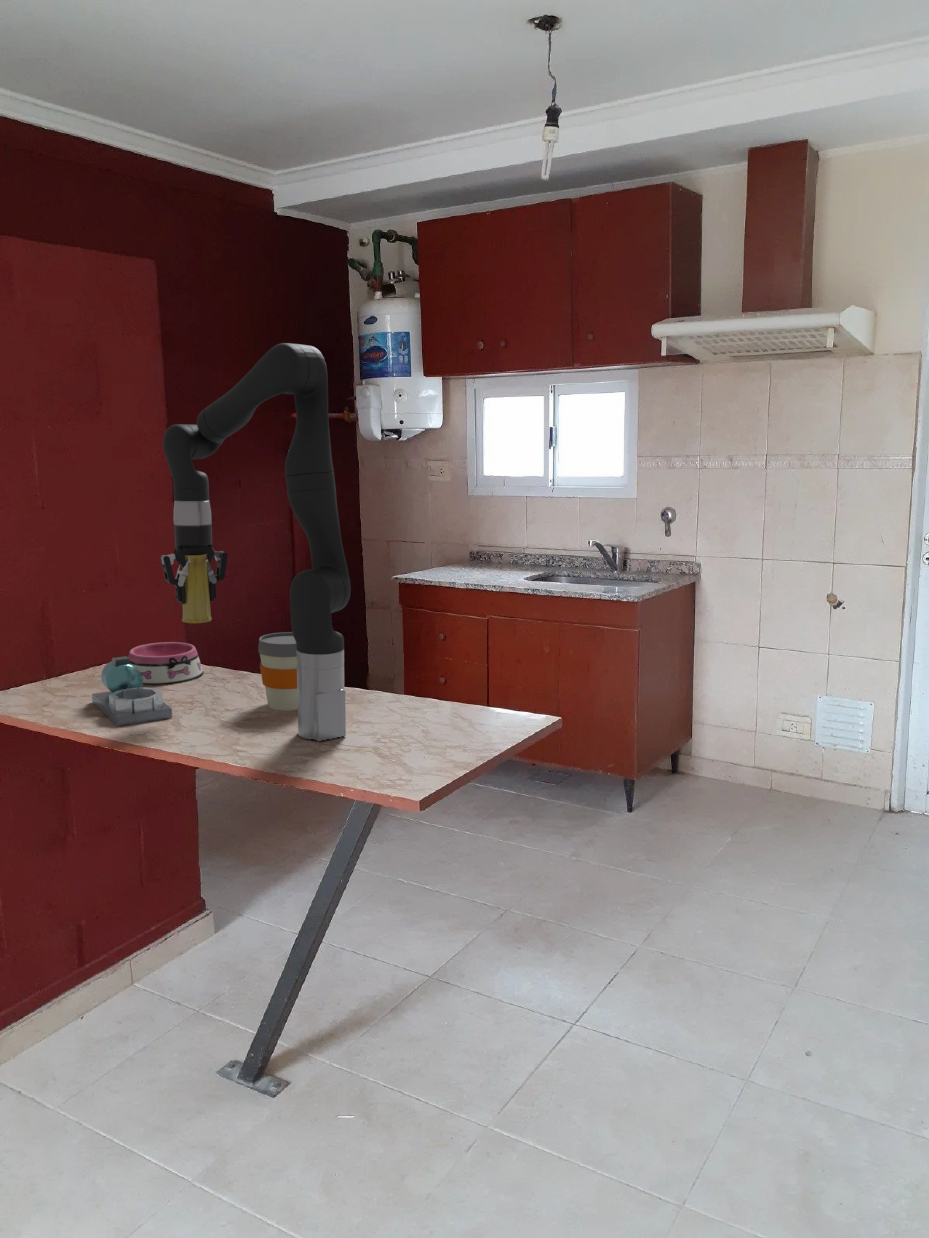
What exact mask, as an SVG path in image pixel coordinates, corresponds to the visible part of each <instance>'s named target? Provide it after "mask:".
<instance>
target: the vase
mask: <svg viewBox="0 0 929 1238" xmlns="http://www.w3.org/2000/svg"><path fill="white" fill-rule="evenodd" d="M205 555H206V557H207V554H204V555H185V560H186V561H187V560H188V558H189V556H190V559H191V562H190V563H188V576H187V577H186V579H185V582H184V584H183V586H184V588H185V604H182V618H181V621H182V623H186V624H202V623H208V622H211V621H212V619H213V618H212V615H211V614H212V613H211V601H210V595H209V581H208V575H207V561H206V562H205ZM181 569H182V570H183V567H182V568H181Z"/></svg>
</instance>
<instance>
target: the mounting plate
mask: <svg viewBox="0 0 929 1238" xmlns="http://www.w3.org/2000/svg"><path fill="white" fill-rule="evenodd" d="M100 679H101V682H102V685H103V686H104V687H105V688H106V689H107V690H109V691H101V692H95V693H91V701H92V704H93V705H94V706H96V707H97V708H98V709H99V710H100V711H101V712H102V713H103V714H104V715H105V716H107V718H108V719H110V721H112V722H113V723H114V724H115V725H116V726H118V727H122V726H129V725H136V724H141V723H147V722H152V721H160V720H165V719H172V718H173V708H172V707H171V706H169V705H168V704H167V703H165V702H164V698H163V691H161V690H160V689H158V688H156V687H144V685H143V677H142V674H141V673H140V671H139V670H137V669H136V668H135V667H133V666H132V665H130V659H129V658H128V656H127V655H125V656H119V657H112V658H111V661H109V662H108V663H107V664H105V665H104V667H103V668H102V671H101V675H100Z"/></svg>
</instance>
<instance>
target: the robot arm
mask: <svg viewBox="0 0 929 1238" xmlns="http://www.w3.org/2000/svg"><path fill="white" fill-rule="evenodd" d="M328 379H329V378H328V369H327V363H326V361H325V357H324V356H323V354H322V352H321V351H320V350H319V349H318V348H316V347H315V346H312V345H307V344H301V343H300V344H299V343H291V342H287V343H286V342H284V343H283V342H282V343H278V344H276V345H274V346H272V347H271V348H270V349H269V350H267V351H266V352H265V353H264V354H263V355H262V356H261V358H260V359H258V361H256V363H255V364H254V365H253V367H252V368H250V369H249V371H248V372H247V373H246V374H245V375H244V376H243V377H242V378H241V379H240V380H239V381H238V382H237V383H236V384H235V385H233V387H232V388H231V389H229V390H228V391H227V392H226V393H224V394H223V395H221V396H220V397H219V398H218V399H216V400H215V401H213V402H212V403H211V404H209V405H208V406H206V407H205V408H204V409H202V410H201V411H200V412H199V414H198V415H197V418H196V424H189V423H188V424H185V423H184V424H183V423H182V424H180V423H178V424H172V425H170V426H169V427H168V428H167V429H166V430H165V432H164V435H163V437H162V439H163V440H162V447H163V448H162V449H163V452H164V453H163V454H164V456H165V459H166V462H167V465H168V469H169V472H170V475H171V477H172V478H171V479H172V481H173V500H174V501H173V504H174V505H173V518H172V519H173V525H174V526H173V527H174V545H175V546H174V548H175V549H174V551H173V553H170V554H167V555H166V554H161V555H160V563H161V568H162V571H163V576H164V580H165V582H166V583H168V584H171V585H174V588H175V589H174V591H175V592H174V594H175V600H176V601H177V602H178V604H181V605H183V604H185V588H184V586H183V584H184V582H185V579H186V577H187V576H188V563H190V562H191V559H190V556H189V558H188V560H187V561H186V560H185V555H204V554H207V557H206V555H205V562H206V561H207V575H208V581H209V595H210V602H214V601H215V599H216V598H217V583H218V582H220V581H224V580H225V577H226V571H227V564H228V563H227V562H228V553H227V552H225V551H223V550H221V551H217V550H215V549H214V547H213V528H212V524H213V523H212V522H213V521H212V508H211V503H210V487H209V486H210V484H209V477H208V475H207V474H206V473H205V472H203V471H200V470H197V469H195V468H196V467H195V466H194V463H193V460H202V459H205V458H208V457H210V456H211V455H213V454H215V453H216V452H217V451H218V449H219V448H220V446H221V445H222V444H223V443H224V441H225V440H226V439H227V438H229V437H231V436H232V435H233V434H235V433H237V432H238V431H239V430H241V429H242V428H243V427H244V426H246V425H247V424H248V423H249V421H250V420H251V418H253V416H254V413H255V412H256V409H258V407H259V406H260V405H261V404H263V403H264V402H265V401H267V400H270V399H271V398H273V397H276V396H279V395H282V394H285V395H293V397H294V403H295V405H294V406H295V413H296V418H295V419H296V421H295V430H294V433H293V437H292V439H291V442H290V444H289V445H290V446H289V448H288V452H287V455H286V458H285V463H284V476H285V485H286V492H287V498H288V502H289V506H290V508H291V510H292V512H293V514H294V516H295V518H296V520H297V522H298V523H299V525H300V527H301V529H302V530H303V532H304V534H305V535H306V536H305V537H306V538H307V541H308V545H309V550H310V557H311V569H305V570H303V571H301V572H298V573H297V574H296V575H295V576H294V577H293V579H292V581H291V585H290V589H289V611H290V622H291V625H290V626H291V632H292V633H293V636H294V639H295V641H296V649H297V650H296V651H297V705H298V710H297V731H298V732H297V734H298V736H299V737H301V738H303V739H305V740H306V739H307V740H311V739H315V740H314V741H316V740H317V741H316V742H323V741H322V740H324V741H326V740H325V739H329V740H334V739H338V738H337V737H340V736H345V737H346V736H347V735H346V734H347V730H346V728H347V726H346V724H347V723H346V721H347V719H346V716H347V715H346V711H347V710H346V690H345V637H344V636H343V635H344V634H342V633H340V632H338V631H335V630H334V628H333V623H332V622H333V621H332V620H333V619H332V614H333V613H336V612H339V611H341V610H342V609H344V608H345V607H346V606H347V605H348V603H349V601H350V598H351V592H352V590H351V589H352V587H351V579H350V574H349V568H348V564H347V560H346V555H345V552H344V548H343V547H344V546H343V541H342V534H341V533H342V532H341V525H340V518H339V510H338V504H337V503H338V502H337V501H338V500H337V488H336V480H335V479H336V478H335V470H334V464H333V458H332V446H331V445H332V444H331V434H330V425H329V381H328ZM213 559H215V561H216V566H215V567H216V568H215V573H214V570H213V569H212V566H211V562H212V560H213ZM174 560H176V562H177V563H178V564H179V565H178V568H177V571H176V575H175V574H174V571H173V567H172V565H173V564H174ZM182 567H183V570H182ZM333 738H334V739H333ZM340 738H341V737H340Z"/></svg>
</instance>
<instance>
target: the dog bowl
mask: <svg viewBox="0 0 929 1238" xmlns="http://www.w3.org/2000/svg"><path fill="white" fill-rule="evenodd" d="M127 657H128V658H129V659H130V665H132V666H133V667H135V668H136V669H137V670H139V671H140V673H141V674H142V677H143V685H142V686H166V685H167V686H168V685H175V684H182V683H187V682H191V681H194V680H197V679H199V678H201V677H202V676H203V675H204V670H203V667H202V666H203V665H202V664H201V663H202V662H201V660H200V657H199V652H198V650H197V649H196V646H194V645H193V644H190V643H187V642H179V641H178V642H177V641H170V642H169V641H166V642H165V641H163V642H153V643H147V644H141V645H138V646H135V647H133V648H131V649H130V650H129V653H128V656H127Z"/></svg>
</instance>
